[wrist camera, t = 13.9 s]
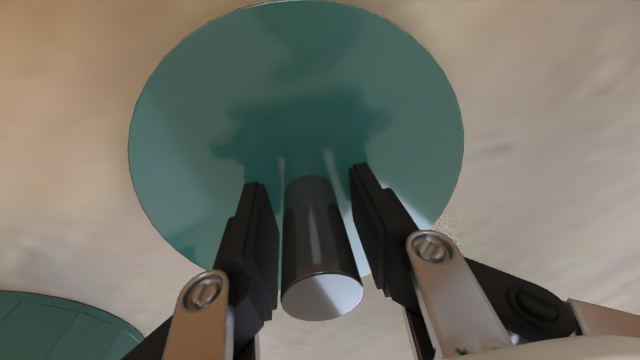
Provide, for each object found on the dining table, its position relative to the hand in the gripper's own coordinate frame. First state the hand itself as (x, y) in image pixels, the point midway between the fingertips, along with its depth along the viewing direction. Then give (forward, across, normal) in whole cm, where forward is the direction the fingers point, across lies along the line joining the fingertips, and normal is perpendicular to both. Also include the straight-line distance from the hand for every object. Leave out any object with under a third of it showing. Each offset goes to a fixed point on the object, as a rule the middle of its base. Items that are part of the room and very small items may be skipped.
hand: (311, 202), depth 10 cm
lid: (+1, 0, 0) cm, 1 cm away
